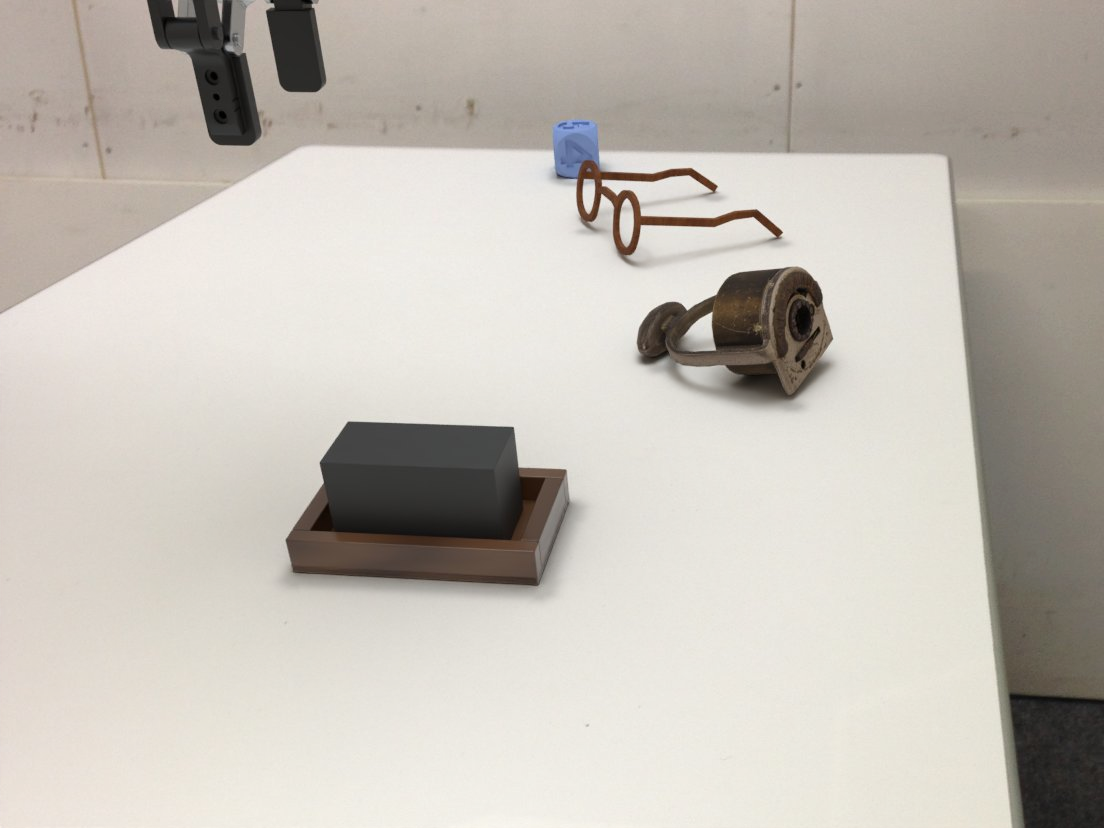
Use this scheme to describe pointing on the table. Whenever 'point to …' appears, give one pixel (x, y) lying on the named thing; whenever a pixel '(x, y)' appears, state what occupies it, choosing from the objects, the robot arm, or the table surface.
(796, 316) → the antique brass mechanism
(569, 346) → the table surface
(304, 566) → the tray
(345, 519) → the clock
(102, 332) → the table surface
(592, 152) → the decorative dice
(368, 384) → the table surface
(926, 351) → the table surface
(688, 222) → the glasses
